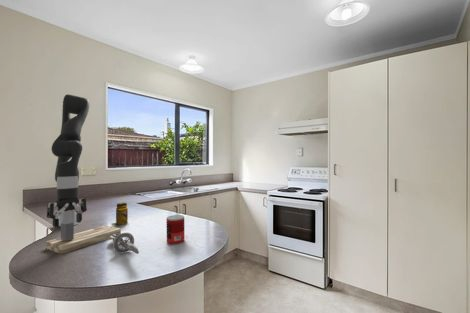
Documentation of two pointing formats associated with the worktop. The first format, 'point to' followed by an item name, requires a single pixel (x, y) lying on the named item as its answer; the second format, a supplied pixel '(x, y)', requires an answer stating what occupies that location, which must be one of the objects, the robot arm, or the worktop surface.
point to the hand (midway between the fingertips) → (67, 224)
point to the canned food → (175, 229)
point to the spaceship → (123, 243)
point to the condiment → (121, 215)
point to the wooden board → (82, 239)
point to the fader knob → (67, 231)
